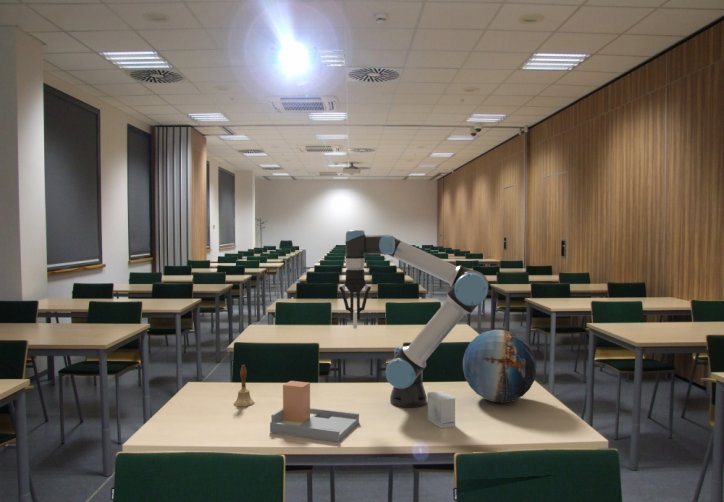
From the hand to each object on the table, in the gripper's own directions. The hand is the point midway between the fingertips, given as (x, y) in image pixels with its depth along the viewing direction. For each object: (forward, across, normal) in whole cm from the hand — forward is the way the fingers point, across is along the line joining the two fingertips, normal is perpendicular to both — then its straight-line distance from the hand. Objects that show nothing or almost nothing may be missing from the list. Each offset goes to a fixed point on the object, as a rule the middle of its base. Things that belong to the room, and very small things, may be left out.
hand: (355, 327), depth 220 cm
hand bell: (+33, +46, -6) cm, 57 cm away
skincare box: (+33, -32, +17) cm, 49 cm away
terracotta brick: (+30, +21, +19) cm, 42 cm away
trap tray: (+32, +14, +22) cm, 42 cm away
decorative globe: (+33, -60, -10) cm, 69 cm away
